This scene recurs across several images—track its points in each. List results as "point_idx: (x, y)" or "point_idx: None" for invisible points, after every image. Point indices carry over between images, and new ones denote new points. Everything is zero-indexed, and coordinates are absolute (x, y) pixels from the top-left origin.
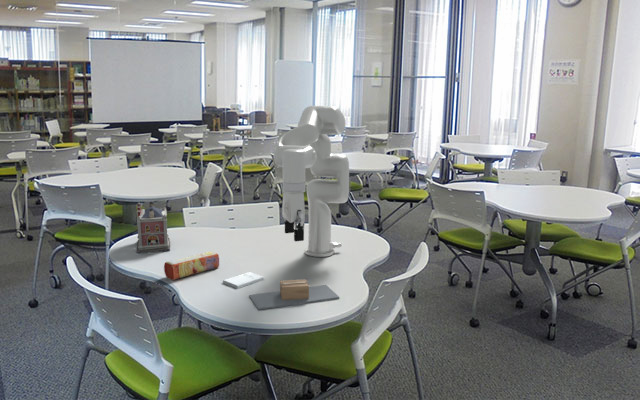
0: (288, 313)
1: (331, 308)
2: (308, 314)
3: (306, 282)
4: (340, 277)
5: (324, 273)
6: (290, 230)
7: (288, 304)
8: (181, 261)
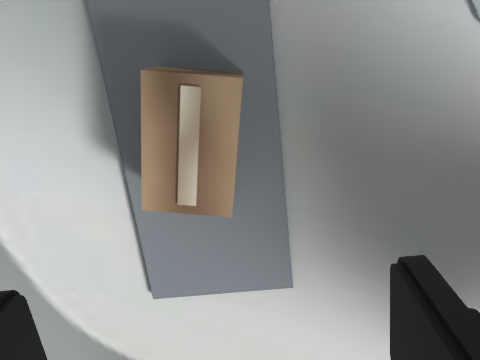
0: (27, 68)
1: (65, 244)
2: (13, 148)
3: (188, 209)
4: (371, 356)
5: None
6: (402, 345)
7: (106, 85)
8: None
